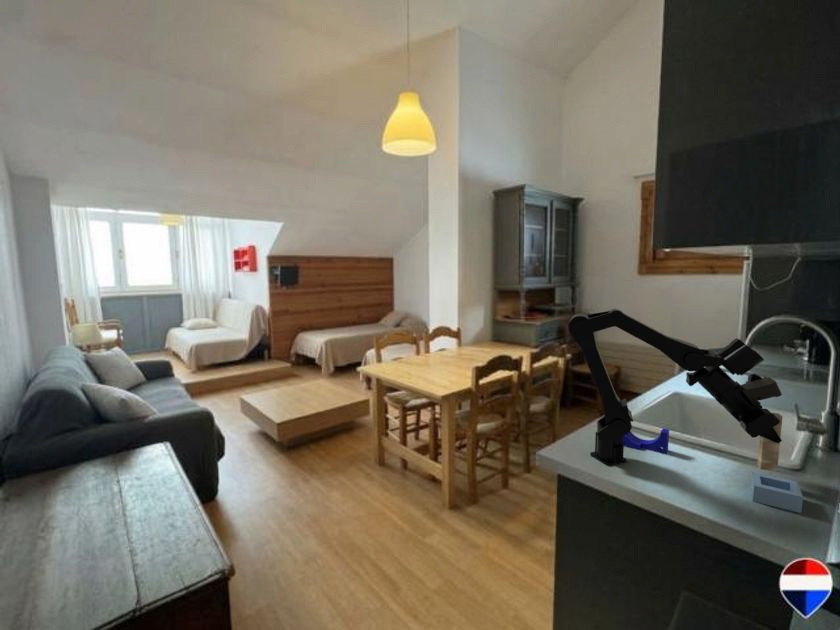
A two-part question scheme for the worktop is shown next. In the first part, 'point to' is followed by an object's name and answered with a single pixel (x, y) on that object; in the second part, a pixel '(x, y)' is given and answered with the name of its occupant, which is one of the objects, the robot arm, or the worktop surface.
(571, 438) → the worktop surface
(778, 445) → the slat
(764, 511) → the worktop surface
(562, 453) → the worktop surface
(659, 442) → the cable clip
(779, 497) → the blue-grey socket block
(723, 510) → the worktop surface
